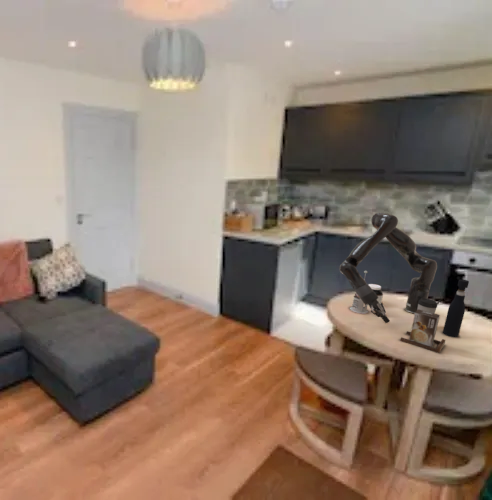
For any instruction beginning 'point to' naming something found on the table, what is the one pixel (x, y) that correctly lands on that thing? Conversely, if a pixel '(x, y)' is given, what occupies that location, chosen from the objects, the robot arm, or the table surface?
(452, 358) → the table surface
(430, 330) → the coffee box
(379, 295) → the spread jar
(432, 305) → the coffee cup
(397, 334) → the table surface
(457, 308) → the dark water bottle
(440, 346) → the bay
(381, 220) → the robot arm
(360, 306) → the french press
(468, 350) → the table surface
